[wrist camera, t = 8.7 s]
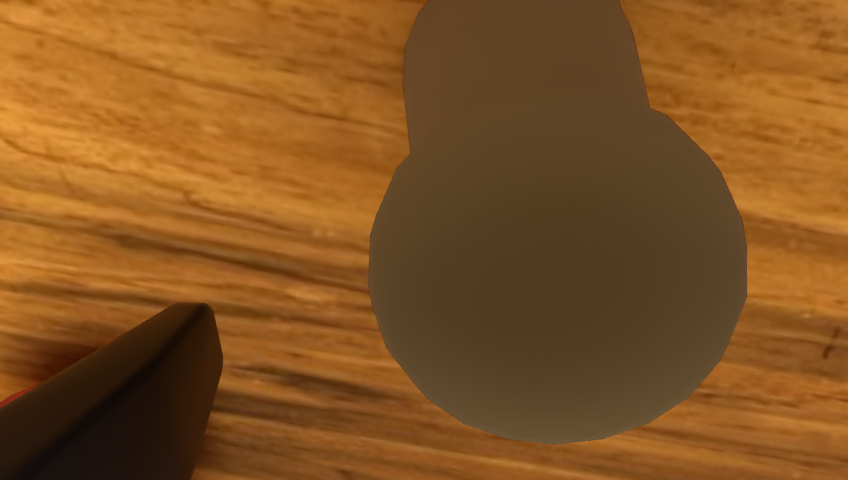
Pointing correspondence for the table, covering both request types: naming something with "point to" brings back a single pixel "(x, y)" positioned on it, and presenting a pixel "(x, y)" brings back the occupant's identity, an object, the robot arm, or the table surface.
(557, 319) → the brown game pawn
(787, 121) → the table surface
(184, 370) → the robot arm
